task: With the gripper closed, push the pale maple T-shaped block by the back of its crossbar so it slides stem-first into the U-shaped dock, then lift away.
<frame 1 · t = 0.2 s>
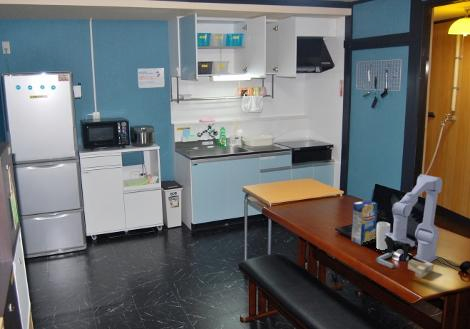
hand: (397, 255, 207), 10 cm above the table, fingers open, 7 cm apart
drinking glass: (381, 251, 236), on the table
dock: (391, 260, 224), on the table
t block: (419, 271, 213), on the table
beverage box: (363, 241, 248), on the table
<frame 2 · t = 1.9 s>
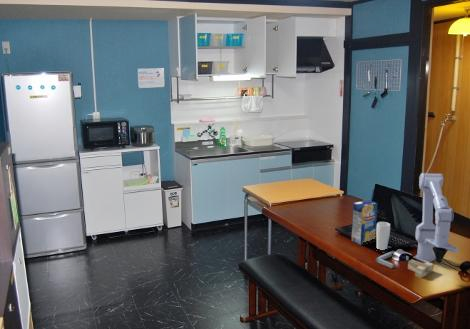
hand: (439, 262, 204), 8 cm above the table, fingers closed
nothing on the table moved.
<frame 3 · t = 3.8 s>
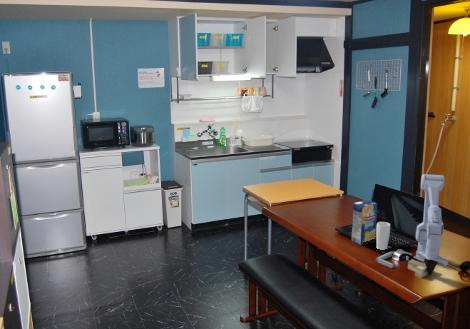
hand: (430, 273, 208), 1 cm above the table, fingers closed
t block: (419, 271, 213), on the table, touching gripper
everything else where it was.
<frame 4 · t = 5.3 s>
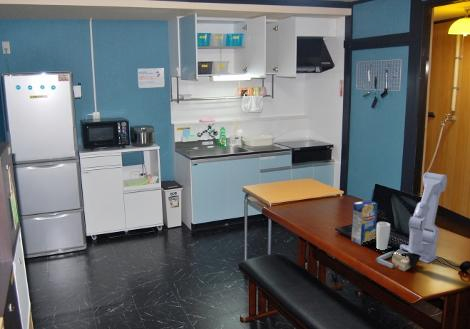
hand: (413, 267, 215), 1 cm above the table, fingers closed
t block: (402, 265, 219), on the table, touching gripper
everything else where it was.
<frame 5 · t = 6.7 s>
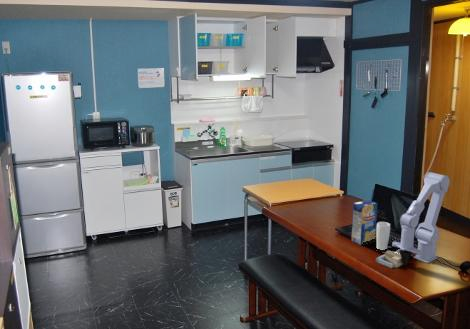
hand: (405, 263, 218), 1 cm above the table, fingers closed
t block: (394, 261, 223), on the table, touching dock, gripper
everything else where it was.
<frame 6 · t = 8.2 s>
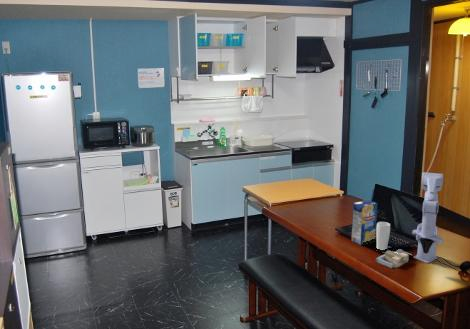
hand: (425, 252, 211), 9 cm above the table, fingers closed
t block: (394, 261, 223), on the table
everything else where it was.
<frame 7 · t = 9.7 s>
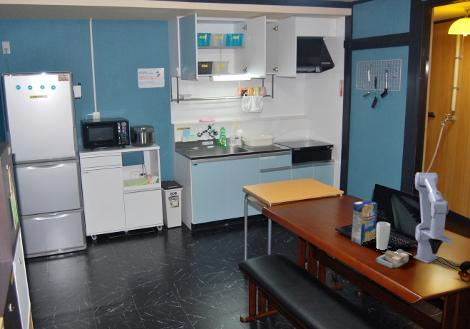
hand: (434, 253, 210), 9 cm above the table, fingers closed
nothing on the table moved.
at the end: t block inside the target area (0.8 cm from its centre), on the table; t block moved 13.0 cm from its start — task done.
